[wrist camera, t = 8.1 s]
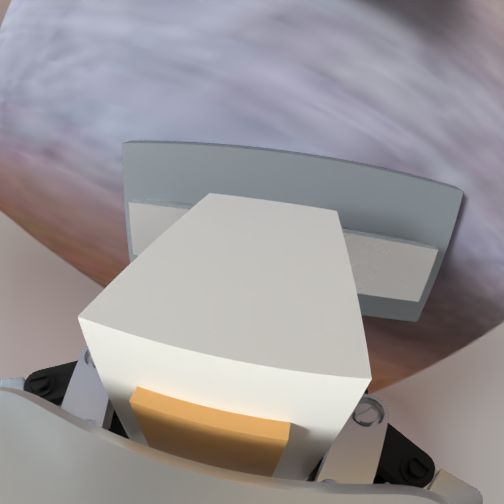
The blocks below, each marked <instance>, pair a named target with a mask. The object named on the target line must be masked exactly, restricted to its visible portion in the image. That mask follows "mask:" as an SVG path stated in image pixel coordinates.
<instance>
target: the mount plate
mask: <svg viewBox="0 0 504 504" xmlns="http://www.w3.org/2000/svg"><path fill="white" fill-rule="evenodd" d="M122 161H123V188H124V204H125V218H126V229H127V239H128V249H129V257H130V264H131V263H132V262H133V261H134V260H135V259H136V258H137V257H138V256H139V255H140V254H141V253H142V252H143V251H144V250H145V249H147V248H148V247H149V246H150V245H151V244H152V243H153V242H154V241H155V240H156V239H157V238H158V237H160V236H161V235H162V234H163V233H164V232H165V231H166V230H167V229H168V228H170V227H171V226H172V225H173V224H174V223H175V222H176V221H177V220H179V219H180V218H181V217H182V216H183V215H184V214H185V213H187V212H188V211H189V210H190V209H191V208H192V207H194V206H195V205H196V204H197V203H198V202H199V201H201V200H202V199H203V198H204V197H205V196H207V195H208V194H209V193H215V194H223V195H232V196H240V197H247V198H255V199H263V200H270V201H277V202H284V203H291V204H297V205H304V206H310V207H317V208H323V209H329V210H335V211H337V213H338V217H339V220H340V224H341V228H342V232H343V236H344V239H345V243H346V248H347V252H348V256H349V260H350V264H351V269H352V273H353V278H354V282H355V287H356V291H357V296H358V301H359V306H360V311H361V315H364V316H371V317H379V318H387V319H395V320H404V321H413V322H417V321H418V319H419V317H420V315H421V313H422V310H423V308H424V306H425V304H426V301H427V299H428V297H429V294H430V292H431V289H432V287H433V285H434V282H435V280H436V277H437V274H438V272H439V269H440V267H441V264H442V261H443V258H444V255H445V253H446V250H447V247H448V244H449V241H450V238H451V235H452V231H453V228H454V225H455V222H456V218H457V215H458V211H459V207H460V204H461V200H462V196H463V192H464V191H462V190H460V189H459V188H457V187H455V186H452V185H448V184H445V183H441V182H438V181H434V180H431V179H427V178H423V177H419V176H415V175H411V174H407V173H403V172H399V171H395V170H391V169H386V168H382V167H377V166H372V165H368V164H363V163H358V162H353V161H347V160H342V159H336V158H331V157H325V156H319V155H312V154H306V153H299V152H292V151H284V150H276V149H268V148H259V147H249V146H239V145H227V144H214V143H198V142H176V141H129V142H125V143H122Z"/></svg>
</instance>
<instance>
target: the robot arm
mask: <svg viewBox="0 0 504 504" xmlns="http://www.w3.org/2000/svg"><path fill="white" fill-rule="evenodd" d="M388 419H389V411H388V408H387V406H386V404H385V403H384V402H383V401H382V400H381V399H379V398H378V397H376V396H374V395H371V394H368V391H367V388H366V390H365V392H364V393H363V395H362V397H361V399H360V400H359V402H358V404H357V405H356V407H355V409H354V410H353V412H352V414H351V415H350V417H349V418H348V420H347V422H346V423H345V425H344V426H343V428H342V429H341V431H340V432H339V434H338V435H337V437H336V438H335V440H334V441H333V443H332V444H331V446H330V447H329V449H328V450H327V451H326V453H325V454H324V456H323V457H322V458H321V460H320V461H319V462H318V464H317V465H316V466H315V468H314V469H313V470H312V472H311V473H310V474H309V476H308V477H307V478H306V479H305V481H298V480H288V479H280V478H272V477H266V476H259V475H253V474H248V473H242V472H237V471H232V470H228V469H223V468H219V467H214V466H210V465H206V464H202V463H199V462H195V461H191V460H188V459H184V458H181V457H178V456H174V455H171V454H168V453H165V452H162V451H159V450H156V449H153V448H150V447H148V446H145V445H142V444H139V443H137V442H134V441H132V440H130V439H129V437H128V435H127V433H126V431H125V429H124V427H123V426H122V424H121V422H120V420H119V418H118V416H117V414H116V412H115V410H114V407H113V405H112V403H111V401H110V399H109V397H108V395H107V392H106V390H105V388H104V386H103V383H102V381H101V379H100V376H99V374H98V371H97V369H96V366H95V364H94V361H93V359H92V356H91V354H90V351H89V348H88V346H86V347H85V348H84V349H83V351H82V352H81V355H80V357H79V359H78V361H75V362H71V363H67V364H63V365H59V366H55V367H50V368H46V369H42V370H38V371H36V372H33V373H32V374H31V375H29V377H28V378H27V379H26V380H25V379H24V377H19V378H10V379H0V504H482V503H483V499H482V495H481V493H480V491H478V489H476V488H474V487H473V486H471V485H469V484H467V483H466V482H464V481H462V480H460V479H458V478H457V477H455V476H453V475H452V474H450V473H448V472H446V471H444V470H443V469H441V470H439V471H438V470H436V469H435V465H434V462H433V460H432V459H431V458H430V456H429V455H428V454H426V453H425V452H424V451H422V450H421V449H420V448H419V447H417V446H416V445H415V444H414V443H412V442H411V441H410V440H409V439H407V438H406V437H405V436H404V435H402V434H401V433H400V432H399V431H397V430H396V429H395V428H394V427H392V426H391V425H390V424H389V423H388Z"/></svg>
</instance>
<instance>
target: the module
mask: <svg viewBox="0 0 504 504" xmlns="http://www.w3.org/2000/svg"><path fill="white" fill-rule="evenodd" d="M78 319H79V322H80V325H81V328H82V331H83V334H84V337H85V340H86V342H87V345H88V348H89V351H90V354H91V356H92V359H93V361H94V364H95V366H96V369H97V371H98V374H99V376H100V379H101V381H102V383H103V386H104V388H105V390H106V392H107V395H108V397H109V399H110V401H111V403H112V405H113V407H114V410H115V412H116V414H117V416H118V418H119V420H120V422H121V424H122V426H123V427H124V429H125V431H126V433H127V435H128V437H129V439H130V440H132V441H134V442H137V443H139V444H142V445H145V446H148V447H150V448H153V449H156V450H159V451H162V452H165V453H168V454H171V455H174V456H178V457H181V458H184V459H188V460H191V461H195V462H199V463H202V464H206V465H210V466H214V467H219V468H223V469H228V470H232V471H237V472H242V473H248V474H253V475H259V476H266V477H272V478H280V479H288V480H298V481H305V479H306V478H307V477H308V476H309V474H310V473H311V472H312V470H313V469H314V468H315V466H316V465H317V464H318V462H319V461H320V460H321V458H322V457H323V456H324V454H325V453H326V451H327V450H328V449H329V447H330V446H331V444H332V443H333V441H334V440H335V438H336V437H337V435H338V434H339V432H340V431H341V429H342V428H343V426H344V425H345V423H346V422H347V420H348V418H349V417H350V415H351V414H352V412H353V410H354V409H355V407H356V405H357V404H358V402H359V400H360V399H361V397H362V395H363V393H364V392H365V390H366V388H367V386H368V385H369V383H370V381H371V379H372V378H371V371H370V364H369V358H368V351H367V345H366V339H365V333H364V328H363V322H362V317H361V311H360V306H359V301H358V296H357V291H356V287H355V282H354V278H353V273H352V269H351V264H350V260H349V256H348V252H347V248H346V243H345V239H344V236H343V232H342V228H341V224H340V220H339V217H338V213H337V211H335V210H329V209H323V208H317V207H310V206H304V205H297V204H291V203H284V202H277V201H270V200H263V199H255V198H247V197H240V196H232V195H223V194H215V193H209V194H208V195H207V196H205V197H204V198H203V199H202V200H201V201H199V202H198V203H197V204H196V205H195V206H194V207H192V208H191V209H190V210H189V211H188V212H187V213H185V214H184V215H183V216H182V217H181V218H180V219H179V220H177V221H176V222H175V223H174V224H173V225H172V226H171V227H170V228H168V229H167V230H166V231H165V232H164V233H163V234H162V235H161V236H160V237H158V238H157V239H156V240H155V241H154V242H153V243H152V244H151V245H150V246H149V247H148V248H147V249H145V250H144V251H143V252H142V253H141V254H140V255H139V256H138V257H137V258H136V259H135V260H134V261H133V262H132V263H131V264H130V265H128V266H127V267H126V268H125V269H124V270H123V271H122V272H121V273H120V274H119V275H118V276H117V277H116V278H115V279H114V280H113V281H112V282H111V283H110V284H109V285H108V286H107V287H106V288H105V289H104V290H103V291H102V292H101V293H100V294H99V295H98V296H97V297H96V298H95V299H94V300H93V301H92V302H91V303H90V304H89V305H88V306H87V307H86V308H85V310H84V311H82V313H81V314H80V315H79V316H78Z"/></svg>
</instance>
